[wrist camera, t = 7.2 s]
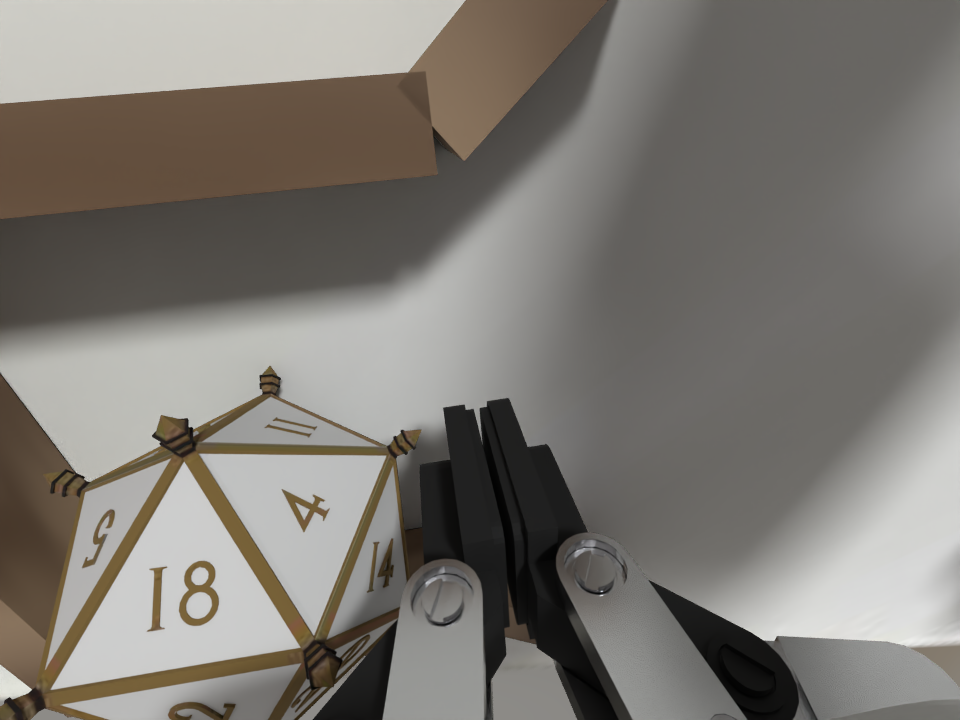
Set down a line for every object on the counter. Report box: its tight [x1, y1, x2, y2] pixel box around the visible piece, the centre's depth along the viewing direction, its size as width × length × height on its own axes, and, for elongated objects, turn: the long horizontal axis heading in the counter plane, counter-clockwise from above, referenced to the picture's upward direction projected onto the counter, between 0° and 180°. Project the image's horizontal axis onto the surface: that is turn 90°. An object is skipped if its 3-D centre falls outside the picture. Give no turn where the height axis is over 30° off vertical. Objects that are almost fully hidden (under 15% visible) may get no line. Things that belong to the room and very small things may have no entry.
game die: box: [0, 366, 421, 720], centre depth 10 cm, size 9×8×10 cm
